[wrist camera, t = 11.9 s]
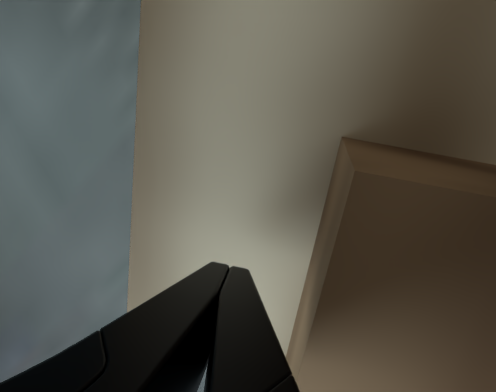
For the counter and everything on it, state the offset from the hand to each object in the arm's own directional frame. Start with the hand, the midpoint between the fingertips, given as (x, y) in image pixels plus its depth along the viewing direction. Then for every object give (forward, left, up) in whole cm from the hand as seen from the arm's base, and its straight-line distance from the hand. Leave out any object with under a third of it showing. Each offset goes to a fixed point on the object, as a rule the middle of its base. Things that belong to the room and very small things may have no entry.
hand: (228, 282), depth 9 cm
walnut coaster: (+5, 0, -2) cm, 5 cm away
